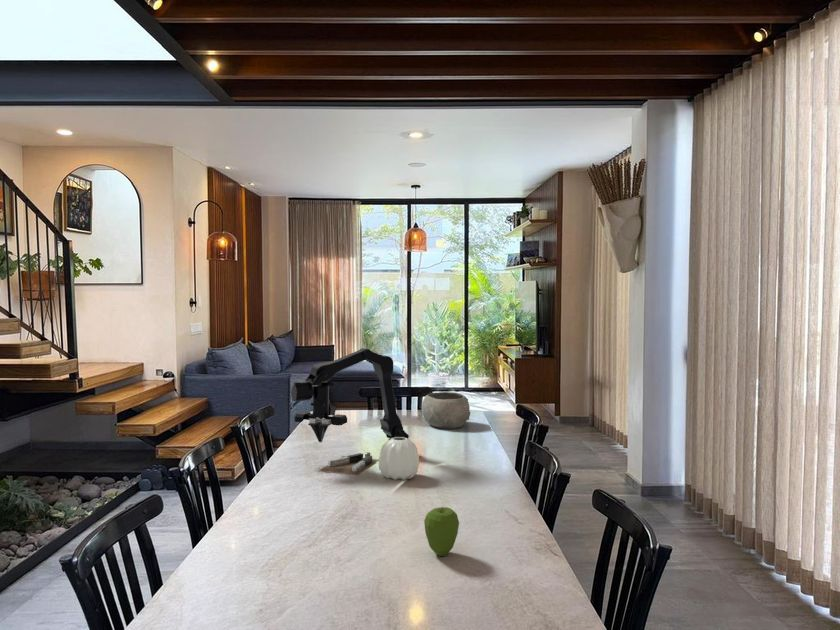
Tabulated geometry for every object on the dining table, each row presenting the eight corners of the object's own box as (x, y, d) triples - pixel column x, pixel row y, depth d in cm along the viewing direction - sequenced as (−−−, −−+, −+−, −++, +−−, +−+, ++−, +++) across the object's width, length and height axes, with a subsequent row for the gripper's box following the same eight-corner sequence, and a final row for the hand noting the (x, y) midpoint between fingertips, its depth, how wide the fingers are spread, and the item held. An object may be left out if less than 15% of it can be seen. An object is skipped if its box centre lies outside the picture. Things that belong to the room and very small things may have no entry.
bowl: (415, 428, 279) (415, 396, 279) (428, 419, 301) (429, 389, 301) (463, 432, 272) (464, 400, 272) (473, 422, 294) (474, 392, 294)
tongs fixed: (376, 458, 224) (376, 452, 224) (356, 472, 206) (356, 465, 206) (367, 458, 225) (367, 451, 225) (347, 471, 207) (347, 464, 207)
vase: (414, 484, 197) (415, 444, 196) (373, 481, 200) (374, 441, 199) (422, 472, 210) (423, 435, 210) (384, 469, 213) (385, 432, 213)
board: (379, 461, 223) (379, 459, 223) (358, 477, 204) (358, 474, 204) (342, 457, 228) (342, 455, 228) (318, 472, 208) (318, 470, 208)
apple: (438, 543, 150) (439, 498, 150) (465, 553, 145) (466, 506, 145) (416, 554, 144) (417, 507, 143) (444, 565, 138) (445, 516, 138)
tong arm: (363, 459, 222) (363, 454, 222) (330, 467, 212) (330, 461, 212) (360, 458, 223) (360, 453, 223) (327, 465, 213) (327, 459, 213)
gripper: (353, 397, 220) (353, 439, 221) (308, 394, 226) (308, 434, 226) (340, 402, 210) (340, 446, 210) (293, 398, 215) (293, 441, 216)
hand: (320, 442), depth 216 cm, fingers closed
